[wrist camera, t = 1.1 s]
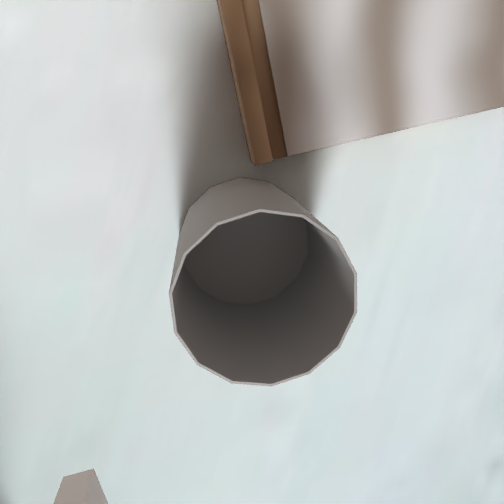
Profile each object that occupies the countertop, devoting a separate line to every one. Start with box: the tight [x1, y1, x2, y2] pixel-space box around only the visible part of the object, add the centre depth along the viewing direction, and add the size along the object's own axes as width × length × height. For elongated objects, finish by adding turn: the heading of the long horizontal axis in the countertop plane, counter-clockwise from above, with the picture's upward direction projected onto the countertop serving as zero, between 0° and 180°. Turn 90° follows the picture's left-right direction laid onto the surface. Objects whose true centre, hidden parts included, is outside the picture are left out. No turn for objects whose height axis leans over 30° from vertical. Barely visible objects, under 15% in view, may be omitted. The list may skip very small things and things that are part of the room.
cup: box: [169, 177, 357, 386], centre depth 25 cm, size 8×8×10 cm
